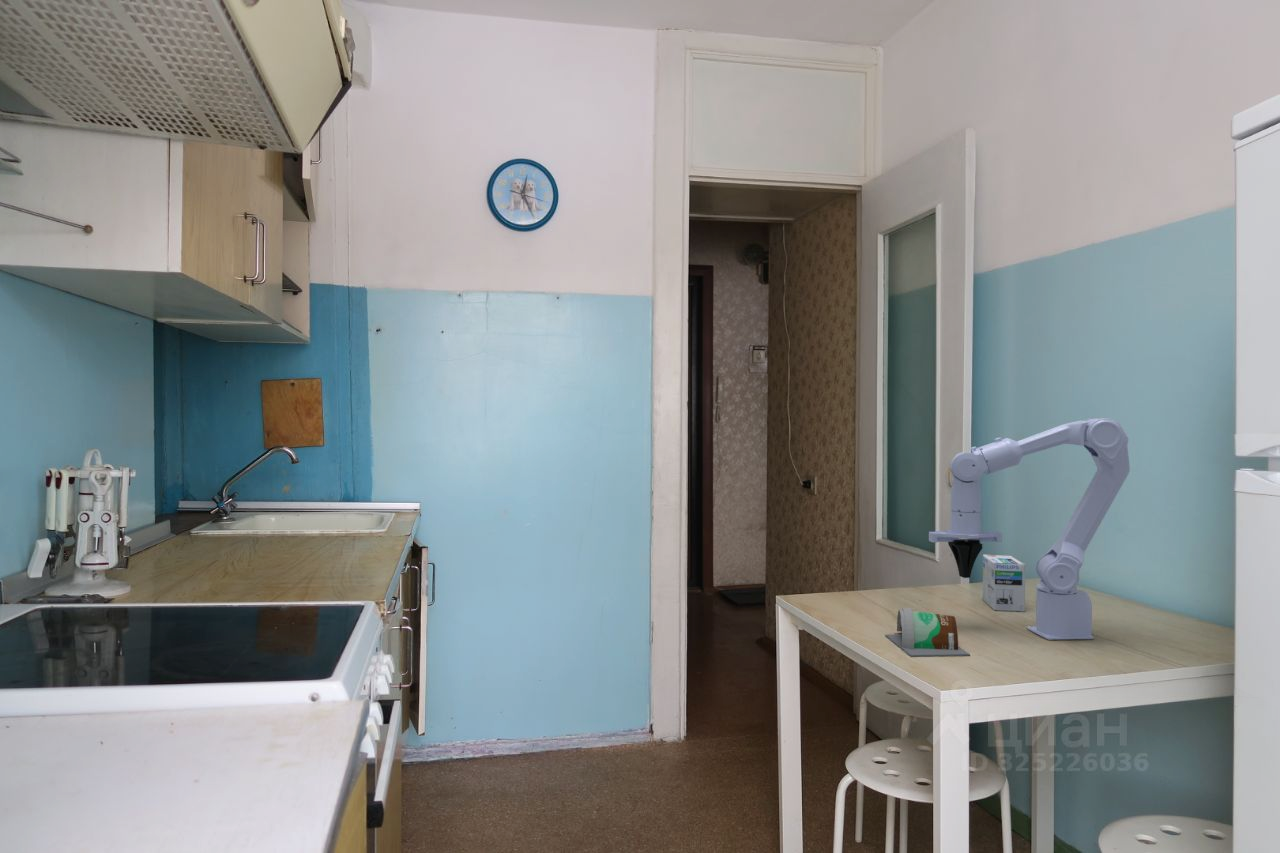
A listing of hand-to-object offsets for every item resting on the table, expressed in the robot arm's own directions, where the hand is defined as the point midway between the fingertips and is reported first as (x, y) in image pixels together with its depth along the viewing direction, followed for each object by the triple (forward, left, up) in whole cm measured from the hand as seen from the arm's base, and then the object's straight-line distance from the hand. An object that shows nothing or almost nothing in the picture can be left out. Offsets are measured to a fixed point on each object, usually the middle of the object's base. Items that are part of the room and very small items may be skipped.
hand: (964, 576), depth 166 cm
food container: (+7, +12, -7) cm, 15 cm away
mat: (+13, +12, -10) cm, 21 cm away
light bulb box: (-17, -17, -11) cm, 26 cm away
